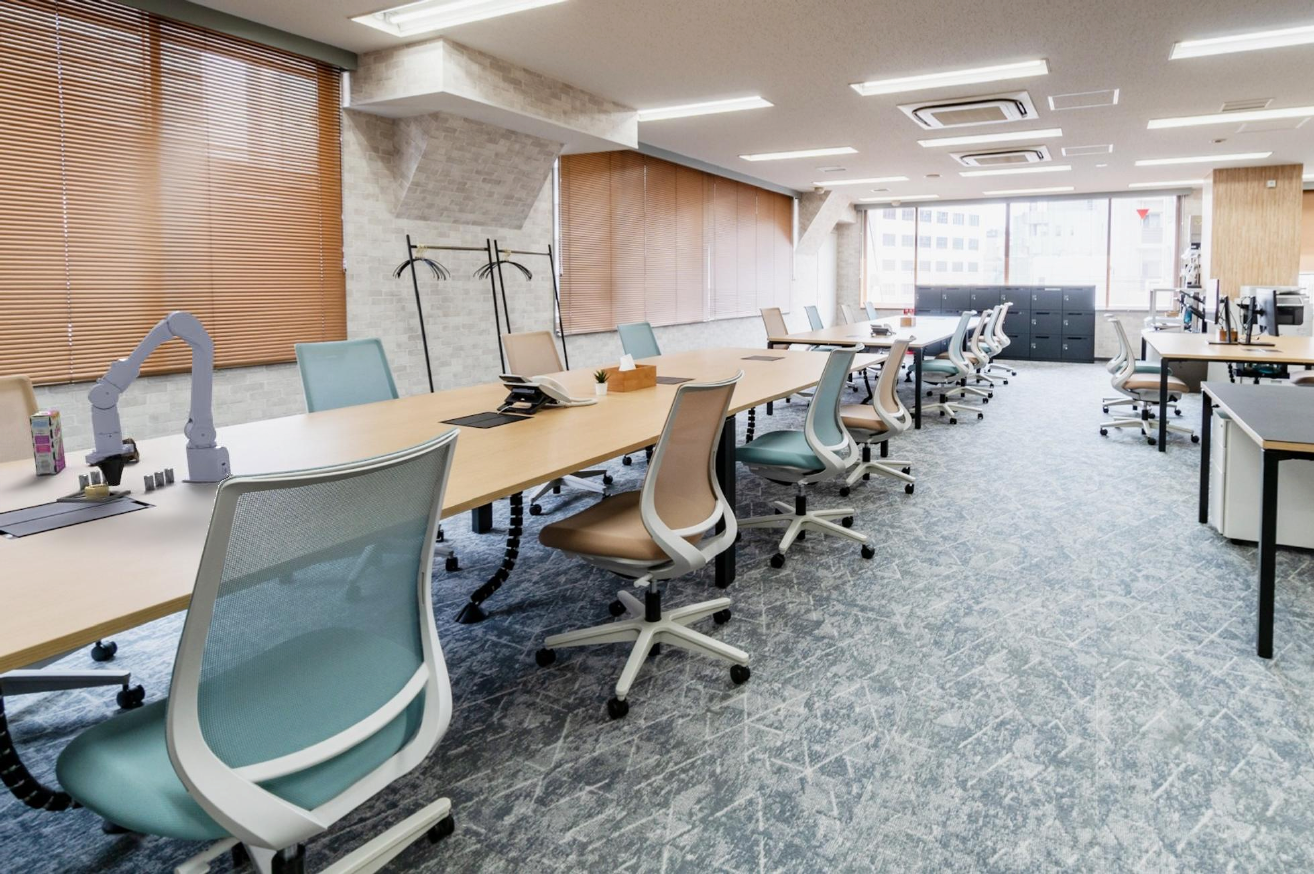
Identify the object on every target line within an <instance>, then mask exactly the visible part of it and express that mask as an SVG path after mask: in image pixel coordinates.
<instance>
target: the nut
mask: <svg viewBox="0 0 1314 874" xmlns="http://www.w3.org/2000/svg"><path fill="white" fill-rule="evenodd" d="M110 494H111V493H110V486H109V484H108V483H106V484H103V483H101V484H97V485H92V484H91V485H90V486H86V488H85V494H84V495H85V498H95V499H103V498H107V497H110Z"/></svg>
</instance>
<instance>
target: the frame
mask: <svg viewBox="0 0 1314 874" xmlns="http://www.w3.org/2000/svg"><path fill="white" fill-rule="evenodd" d="M131 493H132V492H131V490H124V491H121V492H118V493H116V494H113V495H109V496H107V497H103V498H97V499H96V498H86V497H84V498H80V497H79V498H78V496H82V495H85V490H79V491H77V492H73V493H71V494H68V495H65V496H61V497H59V498H56V502H61V503H63V502H64V503H65V502H66V503H67V502H70V503H72V502H73V503H106V502H110V501H112V500H115V499H118V498H121V497H123V496H126V495H128V494H129V495H130V494H131ZM76 497H77V498H76Z"/></svg>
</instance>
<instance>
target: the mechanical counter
mask: <svg viewBox="0 0 1314 874" xmlns="http://www.w3.org/2000/svg"><path fill="white" fill-rule="evenodd" d="M122 442H123V445H125V444H133V447H134V452H128V453H124V454H121V456H127V461H126V463H127V462H130V461H134V460H135V461H136V463H139V462H140V452H139V450H138V449H137V443H136V442H135V440H134V439H133V438H131V437H128V438H125V439H122ZM89 465H91V466H94V467H95V466H97V465H96V464H95V463H89Z"/></svg>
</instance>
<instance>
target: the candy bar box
mask: <svg viewBox="0 0 1314 874" xmlns="http://www.w3.org/2000/svg"><path fill="white" fill-rule="evenodd" d="M28 418H29V424H30V432H31V440H32V447H33V449H32V450H33V454H34V455H33V456H34V463H35V471H36V476H49V475H58V474H59V473H60V472H61V471H62V470H64V468H65V467H67V466H66V456H65V449H64V448H65V447H64V442H63V441H64V440H63V431H62V424H61V415H60V410H43V411H42V410H40V411H38V412H36V413H33V414H31V415H29V416H28Z"/></svg>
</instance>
